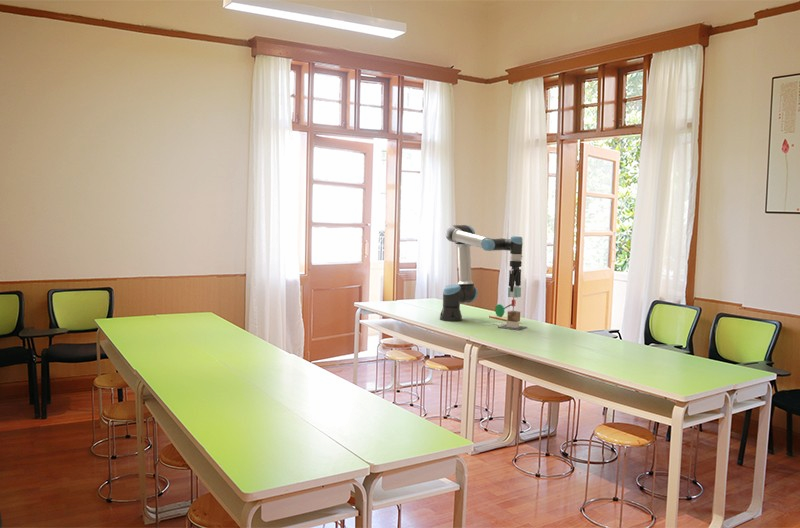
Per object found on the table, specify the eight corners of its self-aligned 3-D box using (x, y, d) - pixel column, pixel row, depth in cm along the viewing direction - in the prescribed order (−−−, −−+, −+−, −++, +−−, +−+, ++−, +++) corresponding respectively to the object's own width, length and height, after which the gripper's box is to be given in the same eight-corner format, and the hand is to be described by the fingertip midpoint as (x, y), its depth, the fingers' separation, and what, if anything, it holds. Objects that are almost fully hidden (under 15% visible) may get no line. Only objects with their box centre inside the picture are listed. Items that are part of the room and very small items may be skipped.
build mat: (498, 327, 426) (498, 320, 425) (507, 324, 437) (507, 318, 437) (518, 330, 418) (518, 323, 418) (527, 327, 430) (527, 320, 429)
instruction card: (493, 324, 438) (493, 323, 438) (498, 323, 444) (498, 322, 444) (507, 326, 432) (507, 325, 432) (511, 324, 438) (511, 324, 438)
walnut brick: (507, 320, 427) (507, 311, 426) (510, 319, 431) (511, 310, 431) (516, 321, 423) (516, 312, 423) (519, 320, 428) (520, 311, 427)
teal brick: (508, 296, 425) (508, 287, 425) (512, 295, 430) (512, 286, 430) (516, 297, 422) (517, 288, 421) (520, 296, 427) (520, 287, 426)
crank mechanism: (520, 322, 450) (521, 294, 449) (513, 323, 446) (514, 294, 445) (494, 316, 471) (496, 289, 469) (488, 317, 467) (489, 290, 465)
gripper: (515, 261, 414) (513, 298, 416) (527, 260, 430) (525, 295, 432) (504, 260, 418) (502, 297, 420) (516, 259, 434) (514, 294, 436)
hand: (514, 296), depth 426 cm, fingers closed on teal brick, 6 cm apart
